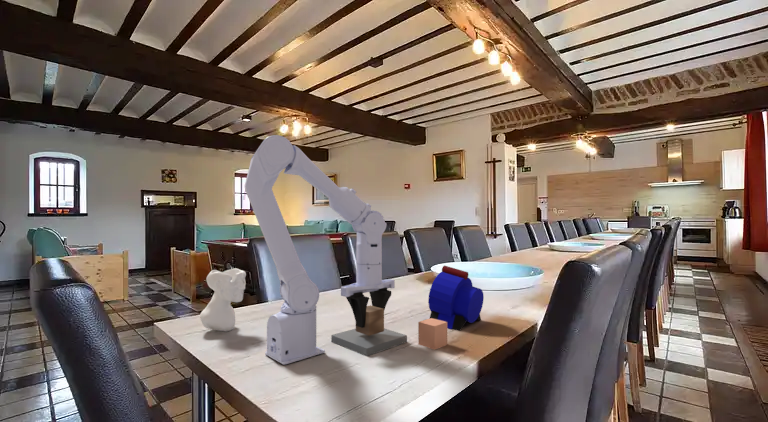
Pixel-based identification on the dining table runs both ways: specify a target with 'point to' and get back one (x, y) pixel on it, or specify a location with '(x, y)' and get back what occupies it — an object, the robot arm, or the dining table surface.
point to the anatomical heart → (223, 299)
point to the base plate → (368, 341)
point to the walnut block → (373, 321)
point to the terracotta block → (432, 333)
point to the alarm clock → (455, 298)
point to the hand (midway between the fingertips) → (369, 324)
